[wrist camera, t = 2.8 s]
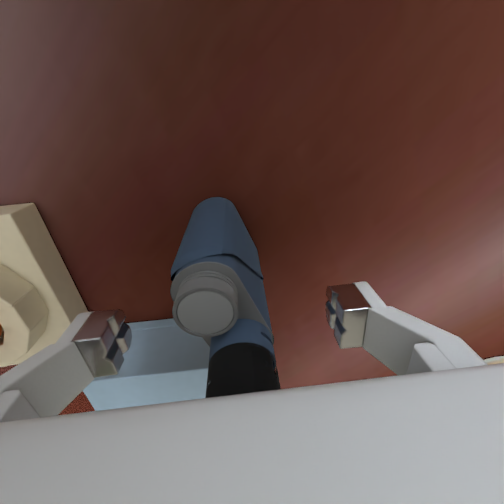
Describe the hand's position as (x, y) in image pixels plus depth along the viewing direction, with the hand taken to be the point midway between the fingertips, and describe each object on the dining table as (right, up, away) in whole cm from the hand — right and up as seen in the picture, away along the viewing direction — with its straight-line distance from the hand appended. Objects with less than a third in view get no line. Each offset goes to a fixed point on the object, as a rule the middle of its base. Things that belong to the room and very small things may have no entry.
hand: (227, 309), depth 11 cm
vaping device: (0, +3, +5) cm, 6 cm away
